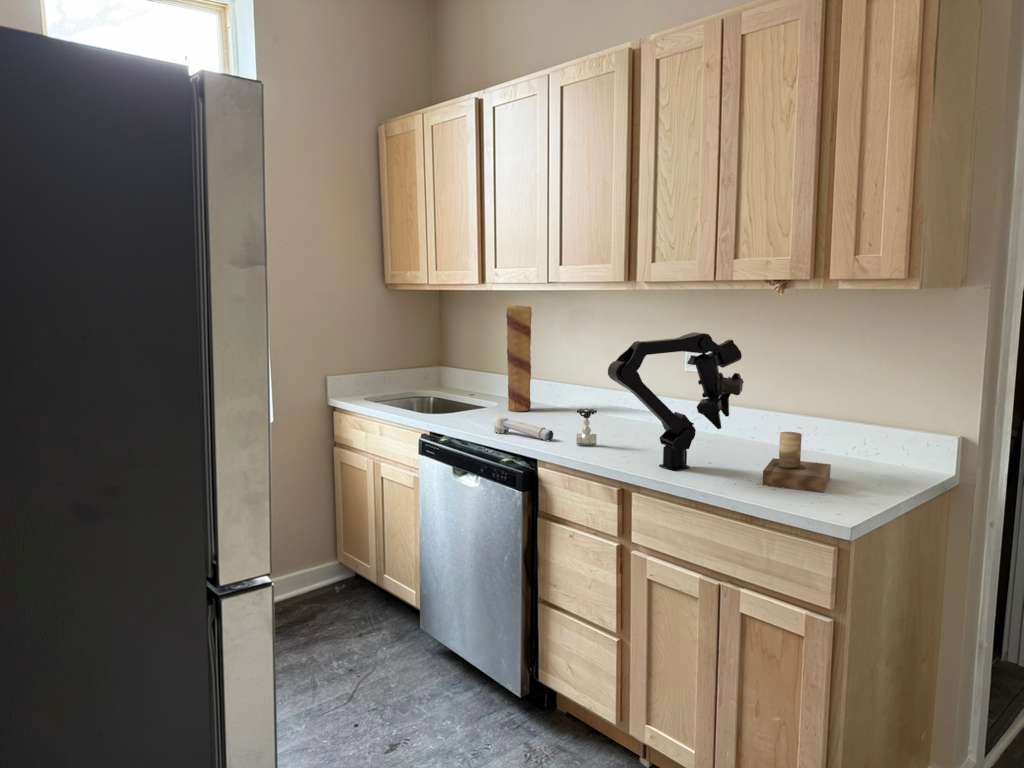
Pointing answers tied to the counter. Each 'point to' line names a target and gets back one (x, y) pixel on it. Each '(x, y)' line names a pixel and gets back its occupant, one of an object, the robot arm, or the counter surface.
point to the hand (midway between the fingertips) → (723, 422)
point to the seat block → (798, 476)
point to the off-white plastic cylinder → (521, 428)
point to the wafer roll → (519, 357)
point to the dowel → (790, 450)
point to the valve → (586, 429)
